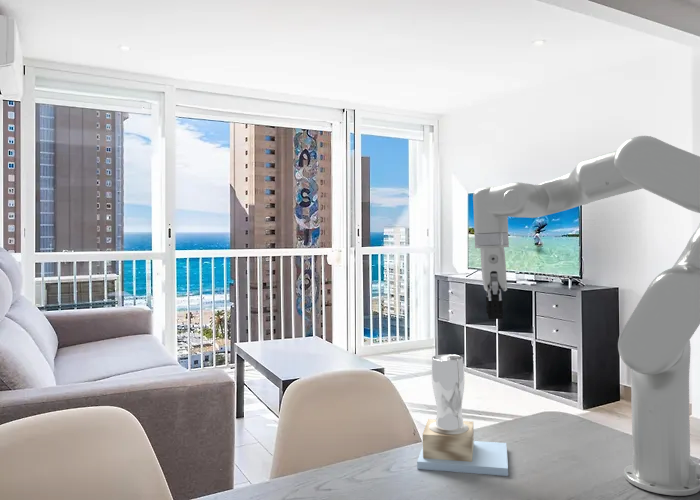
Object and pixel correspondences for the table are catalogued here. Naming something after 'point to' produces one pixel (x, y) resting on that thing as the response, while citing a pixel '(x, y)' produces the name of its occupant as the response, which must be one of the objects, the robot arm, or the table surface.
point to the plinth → (448, 442)
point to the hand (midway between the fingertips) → (494, 316)
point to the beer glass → (448, 391)
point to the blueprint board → (473, 460)
